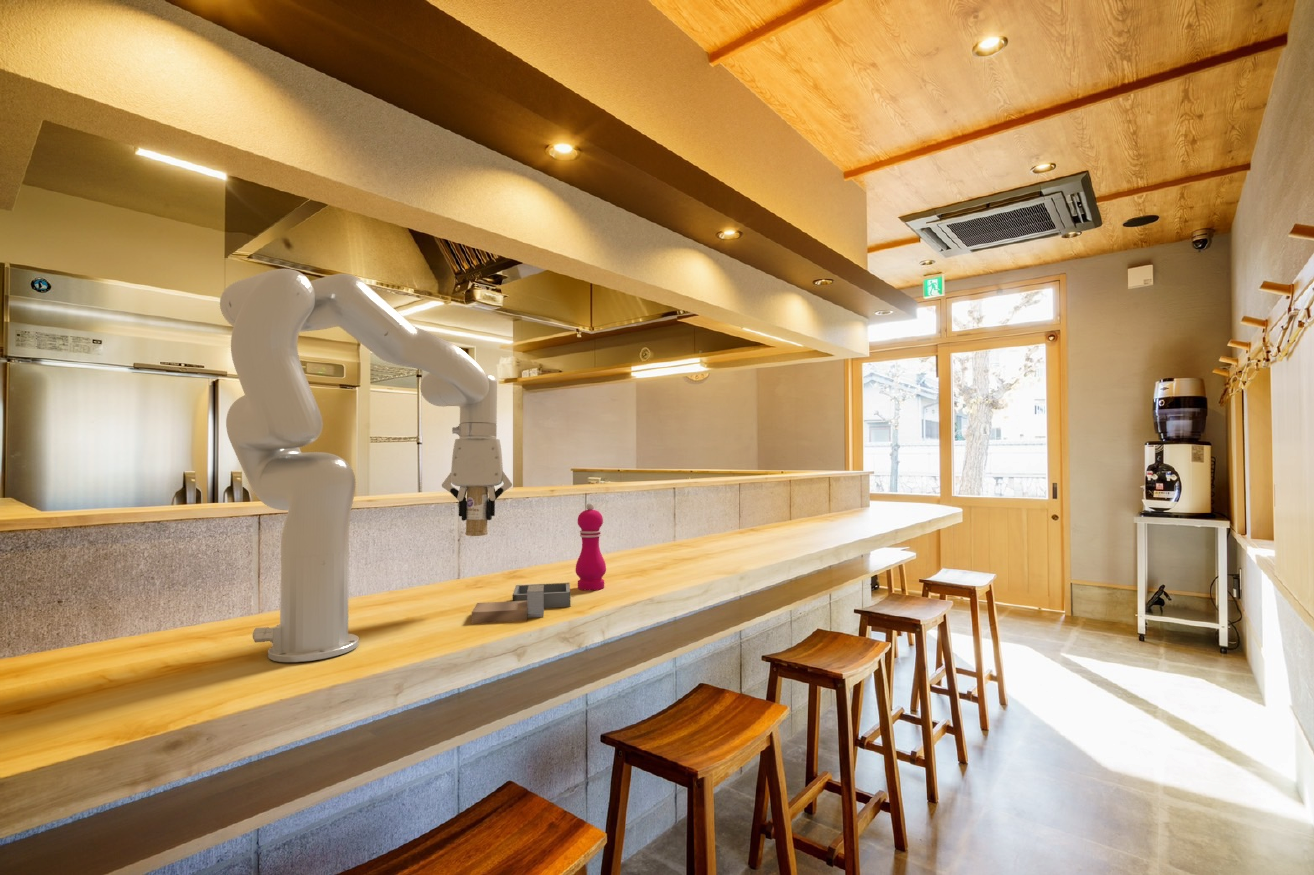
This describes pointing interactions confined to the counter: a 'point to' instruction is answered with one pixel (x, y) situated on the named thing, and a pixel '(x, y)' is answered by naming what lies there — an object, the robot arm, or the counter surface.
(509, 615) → the board
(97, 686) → the counter surface
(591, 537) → the pepper mill
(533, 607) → the block
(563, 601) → the tray
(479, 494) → the sprinkles bottle
